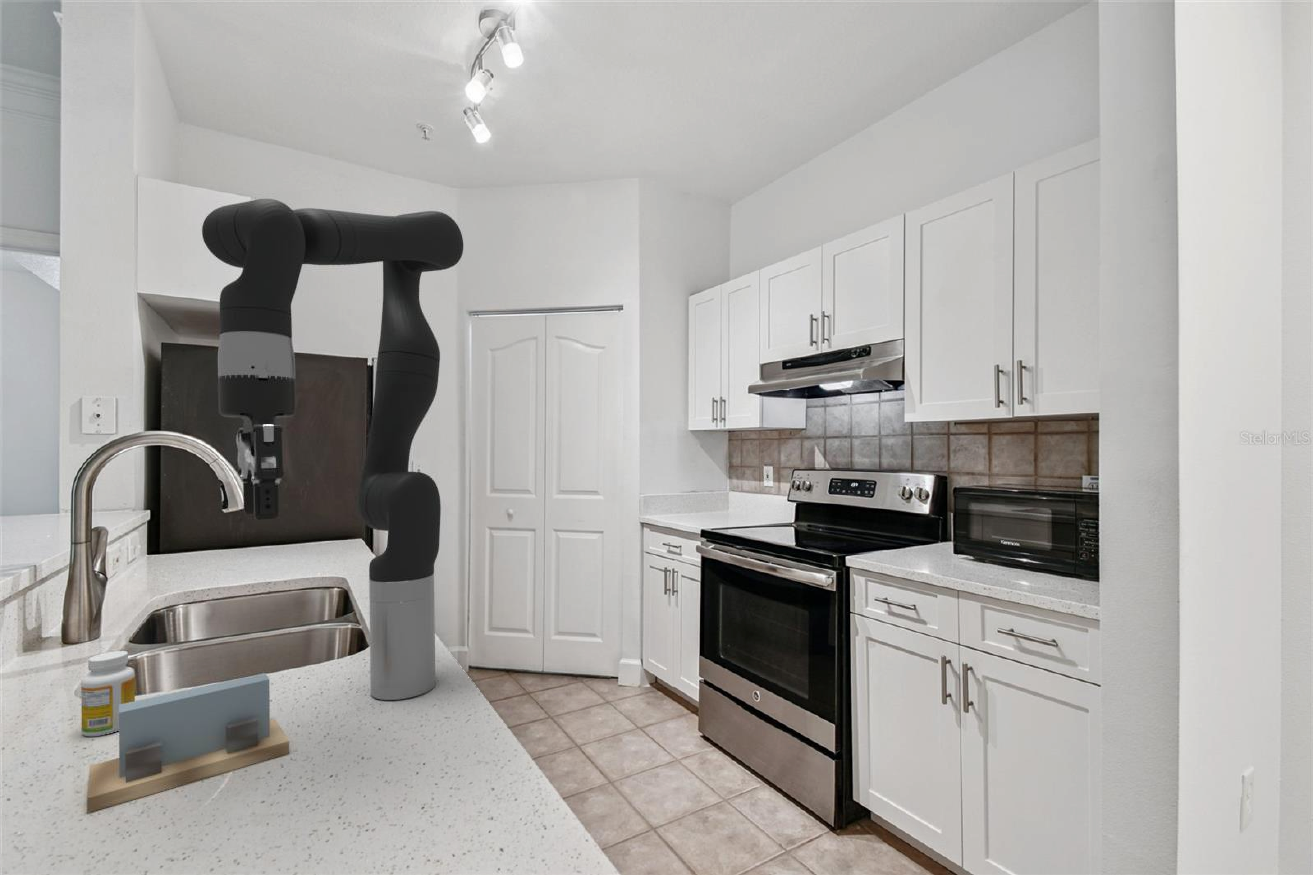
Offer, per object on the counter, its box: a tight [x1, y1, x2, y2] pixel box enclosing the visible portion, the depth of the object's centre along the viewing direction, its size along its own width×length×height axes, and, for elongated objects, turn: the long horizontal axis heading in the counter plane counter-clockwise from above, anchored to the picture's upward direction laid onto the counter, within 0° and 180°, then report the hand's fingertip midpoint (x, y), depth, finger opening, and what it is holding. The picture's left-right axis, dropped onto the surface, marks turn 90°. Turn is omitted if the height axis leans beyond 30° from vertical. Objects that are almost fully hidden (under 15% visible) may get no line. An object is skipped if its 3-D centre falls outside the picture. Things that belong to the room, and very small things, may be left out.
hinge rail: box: [86, 717, 290, 814], centre depth 72 cm, size 18×9×4 cm, turn 131°
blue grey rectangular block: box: [118, 672, 271, 778], centre depth 73 cm, size 14×3×7 cm, turn 131°
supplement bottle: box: [80, 650, 136, 737], centre depth 83 cm, size 5×5×10 cm
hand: (260, 515), depth 71 cm, fingers open, 8 cm apart
